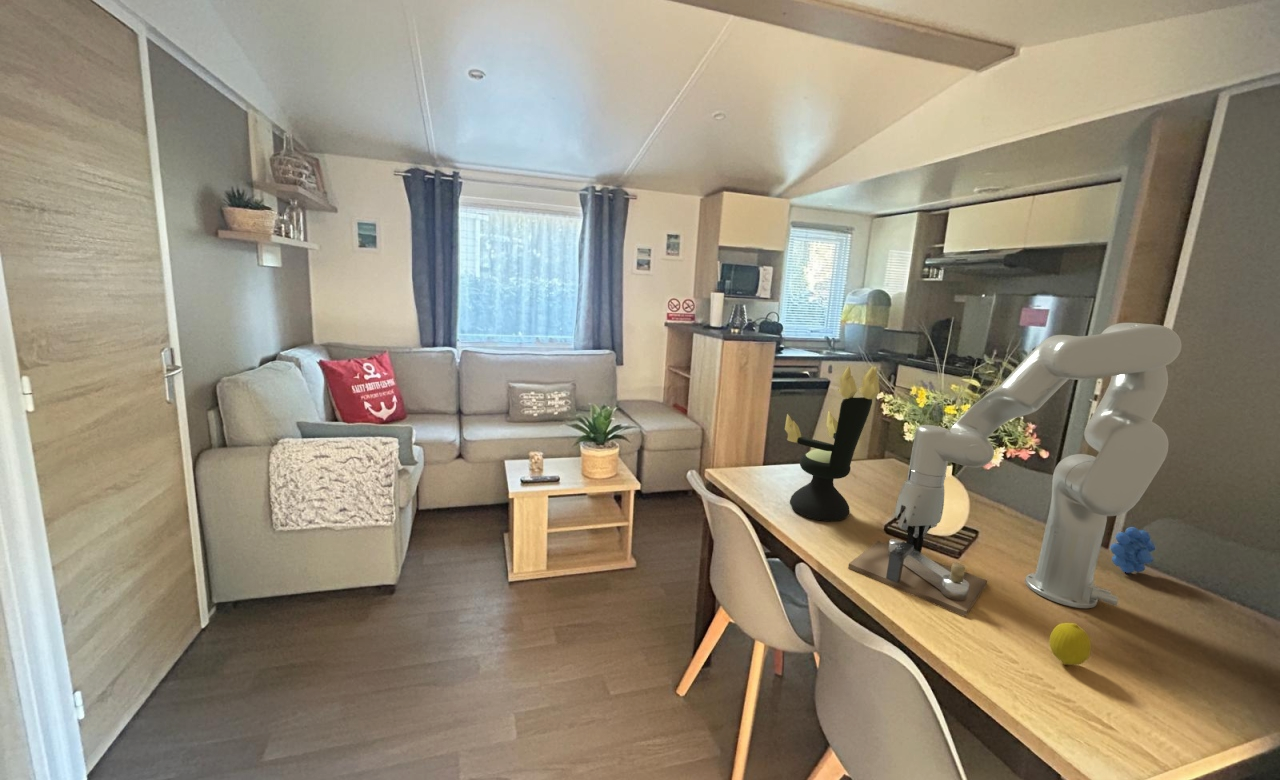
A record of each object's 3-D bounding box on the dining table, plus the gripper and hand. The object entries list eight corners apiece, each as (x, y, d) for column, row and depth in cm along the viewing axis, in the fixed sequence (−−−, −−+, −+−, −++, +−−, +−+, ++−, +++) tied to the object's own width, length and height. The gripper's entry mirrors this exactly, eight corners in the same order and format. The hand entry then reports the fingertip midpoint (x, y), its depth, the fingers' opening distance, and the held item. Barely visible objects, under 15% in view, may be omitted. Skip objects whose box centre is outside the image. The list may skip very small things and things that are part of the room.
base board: (986, 585, 117) (993, 552, 116) (965, 616, 104) (972, 580, 103) (877, 544, 134) (882, 515, 132) (848, 568, 121) (852, 536, 119)
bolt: (972, 599, 108) (974, 586, 107) (953, 601, 107) (956, 588, 106) (898, 549, 128) (900, 538, 128) (882, 551, 127) (883, 539, 126)
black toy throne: (817, 495, 166) (836, 355, 157) (879, 523, 147) (904, 366, 138) (774, 504, 156) (791, 355, 148) (834, 535, 137) (857, 367, 129)
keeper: (909, 570, 119) (914, 545, 118) (897, 583, 113) (901, 556, 112) (898, 566, 121) (902, 541, 120) (885, 578, 115) (890, 552, 114)
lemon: (1092, 678, 89) (1103, 636, 87) (1056, 671, 90) (1066, 630, 88) (1073, 656, 94) (1082, 617, 93) (1038, 651, 95) (1048, 611, 94)
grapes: (1124, 583, 122) (1137, 535, 120) (1096, 568, 128) (1107, 522, 126) (1166, 582, 124) (1179, 535, 121) (1136, 567, 130) (1147, 522, 128)
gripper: (937, 471, 127) (925, 540, 131) (888, 473, 123) (876, 545, 126) (964, 482, 120) (950, 555, 124) (912, 485, 116) (899, 560, 119)
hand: (913, 550), depth 125 cm, fingers closed
